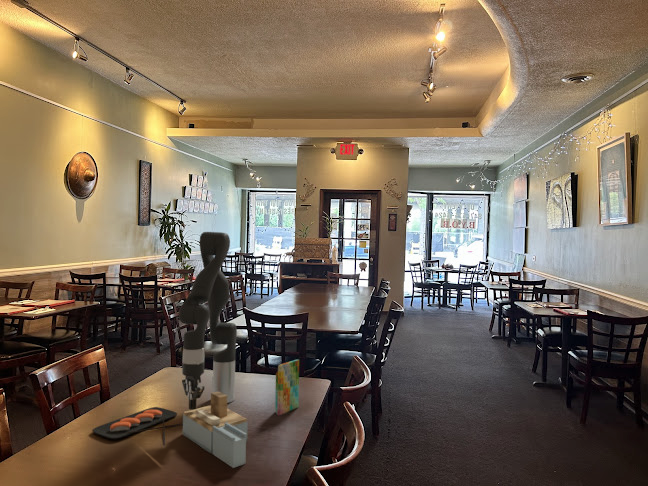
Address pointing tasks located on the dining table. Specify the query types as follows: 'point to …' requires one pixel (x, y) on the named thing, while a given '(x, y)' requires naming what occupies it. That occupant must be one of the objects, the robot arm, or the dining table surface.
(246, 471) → the dining table surface
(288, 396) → the puzzle game
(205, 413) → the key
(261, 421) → the dining table surface
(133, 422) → the sushi plate
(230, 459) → the toolbox
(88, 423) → the dining table surface
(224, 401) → the lid
